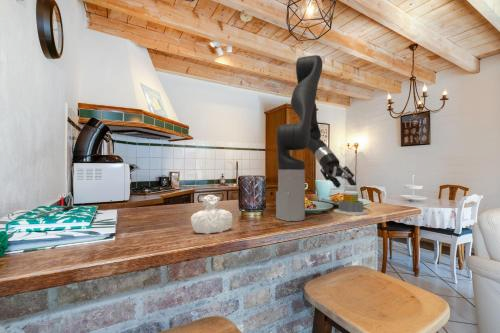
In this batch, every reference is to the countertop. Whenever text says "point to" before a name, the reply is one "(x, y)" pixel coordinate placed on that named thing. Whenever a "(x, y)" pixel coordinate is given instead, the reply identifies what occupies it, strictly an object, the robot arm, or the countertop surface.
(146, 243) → the countertop surface
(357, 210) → the grey low cylinder
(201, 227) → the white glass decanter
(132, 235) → the countertop surface
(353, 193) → the beer glass
